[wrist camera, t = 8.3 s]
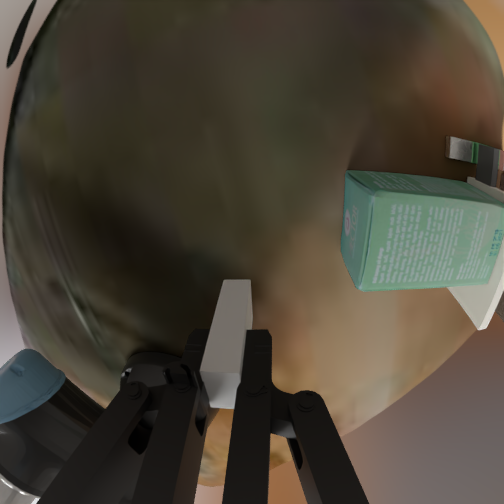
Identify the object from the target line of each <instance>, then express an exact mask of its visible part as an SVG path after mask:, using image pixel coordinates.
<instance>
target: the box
mask: <svg viewBox="0 0 504 504" xmlns="http://www.w3.org/2000/svg"><path fill="white" fill-rule="evenodd" d="M503 237H504V204H503V203H502V202H500V201H498V200H497V199H495V198H493V197H492V196H490V195H488V194H486V193H485V192H483V191H481V190H479V189H478V188H476V187H474V186H472V185H470V184H468V183H466V182H462V181H457V180H450V179H443V178H436V177H429V176H420V175H411V174H401V173H388V172H374V171H358V170H346V174H345V194H344V212H343V225H342V235H341V253H342V256H343V259H344V262H345V265H346V267H347V269H348V272H349V274H350V276H351V278H352V280H353V282H354V284H355V287H356V288H357V289H359V290H362V291H364V292H366V291H383V290H403V289H422V288H441V287H457V286H473V285H482V284H488V281H489V278H490V276H491V273H492V270H493V268H494V265H495V262H496V259H497V256H498V253H499V250H500V247H501V244H502V240H503Z"/></svg>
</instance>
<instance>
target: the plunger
mask: <svg viewBox="0 0 504 504" xmlns="http://www.w3.org/2000/svg"><path fill="white" fill-rule="evenodd" d="M499 151H500V149H496V148H493V147H490V146H486V145H482V144H478V159H477V170H476V178H473V177H468V178H467V183H468V184H470V185H472V186H474V187H476V188H478V189H479V190H481V191H483V192H485V193H486V194H488V195H490V196H492V197H493V198H495V199H497V200H498V201H500V202H502V203H503V204H504V191H502V190H500V189H498V188H496V181H497V173H498V163H499ZM447 288H448V289H449V290H450V292H451V293H452V294H453V296H454V297H455V298H456V300H457V301H458V302H459V304H460V305H461V306H462V308H463V309H464V310H465V312H466V313H467V315H468V316H469V317H470V319H471V320H472V322H473V323H474V325H475V326H476V327H477V329H478V330H481V329H486V328H487V326H488V324H489V322H490V320H491V318H492V316H493V313H494V311H495V309H496V307H497V305H498V303H499V300H500V298H501V296H502V293H503V291H504V237H503V240H502V244H501V247H500V250H499V253H498V256H497V259H496V262H495V265H494V268H493V270H492V273H491V276H490V278H489V281H488V284H482V285H473V286H457V287H447Z"/></svg>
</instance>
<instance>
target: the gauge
mask: <svg viewBox="0 0 504 504" xmlns="http://www.w3.org/2000/svg"><path fill="white" fill-rule="evenodd" d="M478 144H480V143H477V142H473V141H469V140H468V141H467V140H463V139H459V138H455V137H451V136H446V151H445V157H448V158H452V159H457V160H462V161H467V162H470V163H474V164H477V159H478ZM482 145H483V144H482ZM486 146H487V145H486ZM498 170H502V171H503V170H504V151H502V150H500V151H499V163H498ZM500 190H502V191H504V174H502V176H501V184H500ZM495 311H496V313H497V314H498V315H499V316H500V318H501V319H502V320H503V322H504V291H503V293H502V296H501V298H500V300H499V303H498V305H497V307H496V309H495Z"/></svg>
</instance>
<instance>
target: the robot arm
mask: <svg viewBox="0 0 504 504" xmlns="http://www.w3.org/2000/svg"><path fill="white" fill-rule="evenodd" d="M252 321H253V313H252V297H251V280H224V281H223V284H222V288H221V292H220V295H219V299H218V303H217V306H216V310H215V314H214V318H213V321H212V325H211V329H195V330H194V331H193V332H192V333H191V334H190V335H189V337H188V340H187V343H186V344H187V345H186V346H185V349H184V352H183V355H182V358H179V357H176V356H173V355H169V354H165V353H159V352H141V353H137V354H135V355H133V356H131V357H130V358H129V359H128V361H127V363H126V365H125V367H124V369H123V371H122V374H121V382H120V391H119V392H118V394H117V395H116V396H115V397H114V399H113V400H112V401H111V403H110V404H109V405H108V407H107V408H106V409H104V408H103V407H102V406H100V405H99V404H98V403H96V402H95V401H94V400H93V399H91V398H90V397H89V396H88V395H86V394H85V393H84V392H83V391H82V390H80V389H79V388H78V387H77V386H76V385H74V384H73V383H72V382H71V381H70V380H69V379H68V378H67V377H66V376H65V374H64V373H63V372H62V371H61V370H59V369H57V368H55V367H54V366H53V365H52V364H51V363H50V362H49V361H48V360H46V359H45V358H44V357H43V356H42V355H41V354H40V353H39V352H37V351H35V350H33V349H24V350H21V351H20V352H18V353H17V354H16V355H14V356H13V357H12V358H11V359H10V360H9V361H7V362H6V363H5V364H4V365H3V366H2V367H1V368H0V504H31V503H32V502H33V500H34V499H35V498H40V499H39V501H38V502H37V504H194V499H195V493H196V488H197V482H198V476H199V471H200V465H201V459H202V454H203V448H204V442H205V437H206V431H207V428H208V427H209V425H210V424H211V422H212V421H213V419H214V418H215V416H216V414H217V413H218V411H219V409H220V408H227V409H234V414H233V422H232V430H231V438H230V445H229V453H228V461H227V469H226V477H225V484H224V492H223V501H222V504H268V488H269V486H268V485H269V464H270V434H271V433H272V434H276V435H279V436H283V437H286V438H287V442H288V445H289V448H290V451H291V454H292V457H293V460H294V463H295V467H296V470H297V473H298V476H299V479H300V482H301V485H302V488H303V491H304V494H305V497H306V500H307V503H308V504H369V502H368V500H367V498H366V495H365V493H364V491H363V489H362V486H361V484H360V482H359V479H358V477H357V475H356V473H355V471H354V468H353V466H352V464H351V461H350V459H349V457H348V454H347V452H346V450H345V448H344V446H343V443H342V441H341V439H340V436H339V434H338V432H337V429H336V427H335V425H334V423H333V420H332V418H331V416H330V414H329V411H328V409H327V407H326V405H325V402H324V400H323V399H322V397H321V396H320V395H319V394H317V393H316V392H313V391H309V390H306V391H300V392H297V393H295V394H290V393H286V392H283V391H281V390H279V389H277V388H276V387H275V386H274V384H273V382H272V336H271V335H270V333H269V331H268V330H267V329H266V330H252Z"/></svg>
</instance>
